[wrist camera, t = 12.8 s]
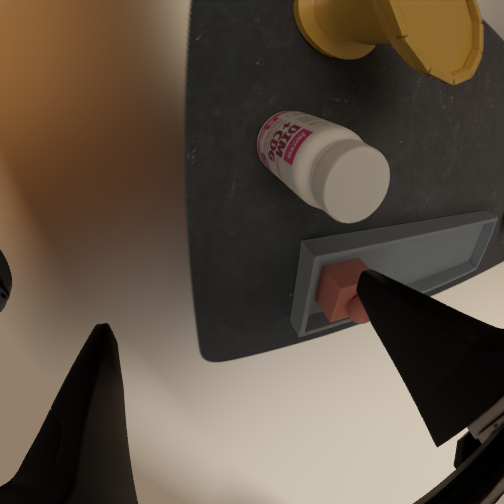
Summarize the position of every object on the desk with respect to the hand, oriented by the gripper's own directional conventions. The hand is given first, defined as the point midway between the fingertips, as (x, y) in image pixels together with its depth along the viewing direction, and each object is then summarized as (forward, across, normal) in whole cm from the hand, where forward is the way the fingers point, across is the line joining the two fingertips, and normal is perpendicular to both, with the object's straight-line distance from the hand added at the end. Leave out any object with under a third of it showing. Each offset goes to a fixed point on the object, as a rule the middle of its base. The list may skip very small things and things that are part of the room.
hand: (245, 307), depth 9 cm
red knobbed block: (+12, -13, +11) cm, 21 cm away
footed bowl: (+12, -10, -12) cm, 20 cm away
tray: (+12, -26, +12) cm, 31 cm away
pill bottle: (+12, -7, -2) cm, 14 cm away
